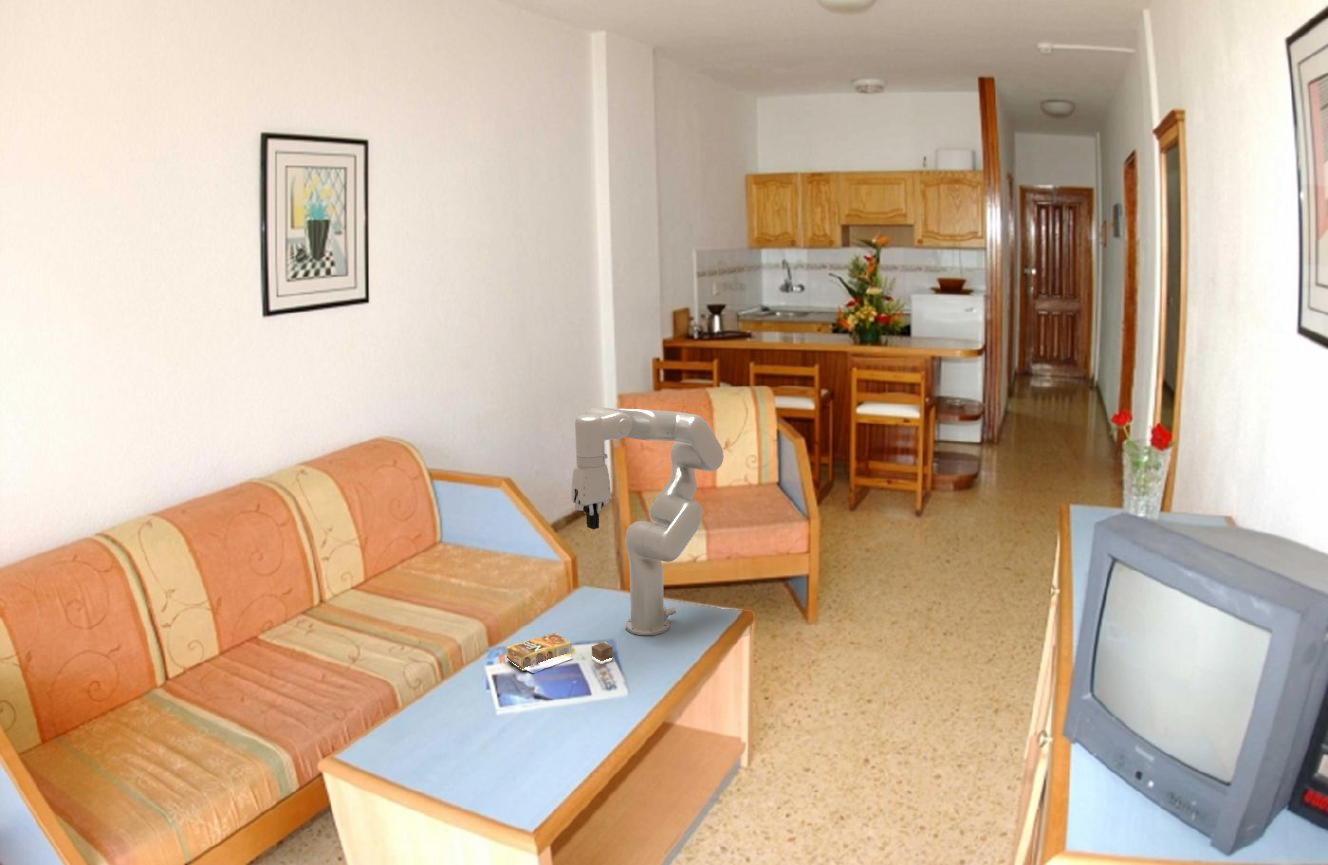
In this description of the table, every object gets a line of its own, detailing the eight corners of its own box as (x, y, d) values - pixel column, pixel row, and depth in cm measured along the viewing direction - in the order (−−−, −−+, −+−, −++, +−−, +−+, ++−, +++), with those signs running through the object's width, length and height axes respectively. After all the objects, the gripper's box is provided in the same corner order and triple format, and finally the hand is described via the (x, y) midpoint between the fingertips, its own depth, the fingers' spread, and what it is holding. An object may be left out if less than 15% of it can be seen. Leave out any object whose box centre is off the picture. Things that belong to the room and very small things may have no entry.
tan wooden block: (603, 655, 274) (603, 642, 273) (613, 660, 271) (612, 646, 270) (592, 660, 271) (591, 646, 270) (601, 664, 268) (600, 650, 267)
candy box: (571, 642, 272) (520, 656, 263) (572, 656, 272) (521, 671, 264) (555, 631, 279) (505, 645, 270) (556, 646, 280) (506, 660, 271)
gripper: (604, 454, 274) (606, 519, 278) (559, 463, 264) (562, 530, 268) (621, 458, 268) (623, 524, 272) (576, 468, 259) (579, 537, 262)
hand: (593, 527), depth 270 cm, fingers closed
